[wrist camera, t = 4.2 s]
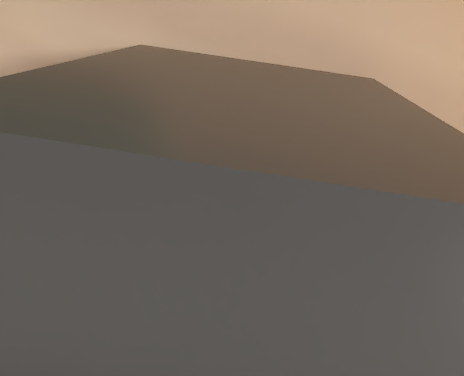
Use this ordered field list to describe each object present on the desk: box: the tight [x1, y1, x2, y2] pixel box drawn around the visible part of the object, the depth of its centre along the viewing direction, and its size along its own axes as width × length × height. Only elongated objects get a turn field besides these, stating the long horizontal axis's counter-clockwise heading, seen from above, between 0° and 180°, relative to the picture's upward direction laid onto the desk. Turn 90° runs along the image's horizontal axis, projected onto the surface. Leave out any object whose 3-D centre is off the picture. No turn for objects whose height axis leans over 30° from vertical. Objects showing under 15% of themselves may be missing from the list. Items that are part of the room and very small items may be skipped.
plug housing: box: [0, 45, 464, 376], centre depth 7 cm, size 5×11×6 cm, turn 173°
